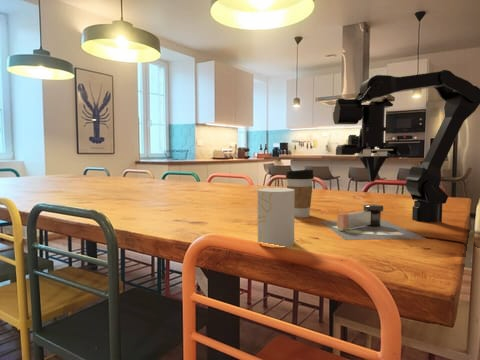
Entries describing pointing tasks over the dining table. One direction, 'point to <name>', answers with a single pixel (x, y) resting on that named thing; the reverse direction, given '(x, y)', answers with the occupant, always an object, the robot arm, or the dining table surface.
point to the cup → (276, 216)
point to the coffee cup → (301, 190)
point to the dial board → (373, 232)
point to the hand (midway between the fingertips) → (371, 181)
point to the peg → (361, 217)
